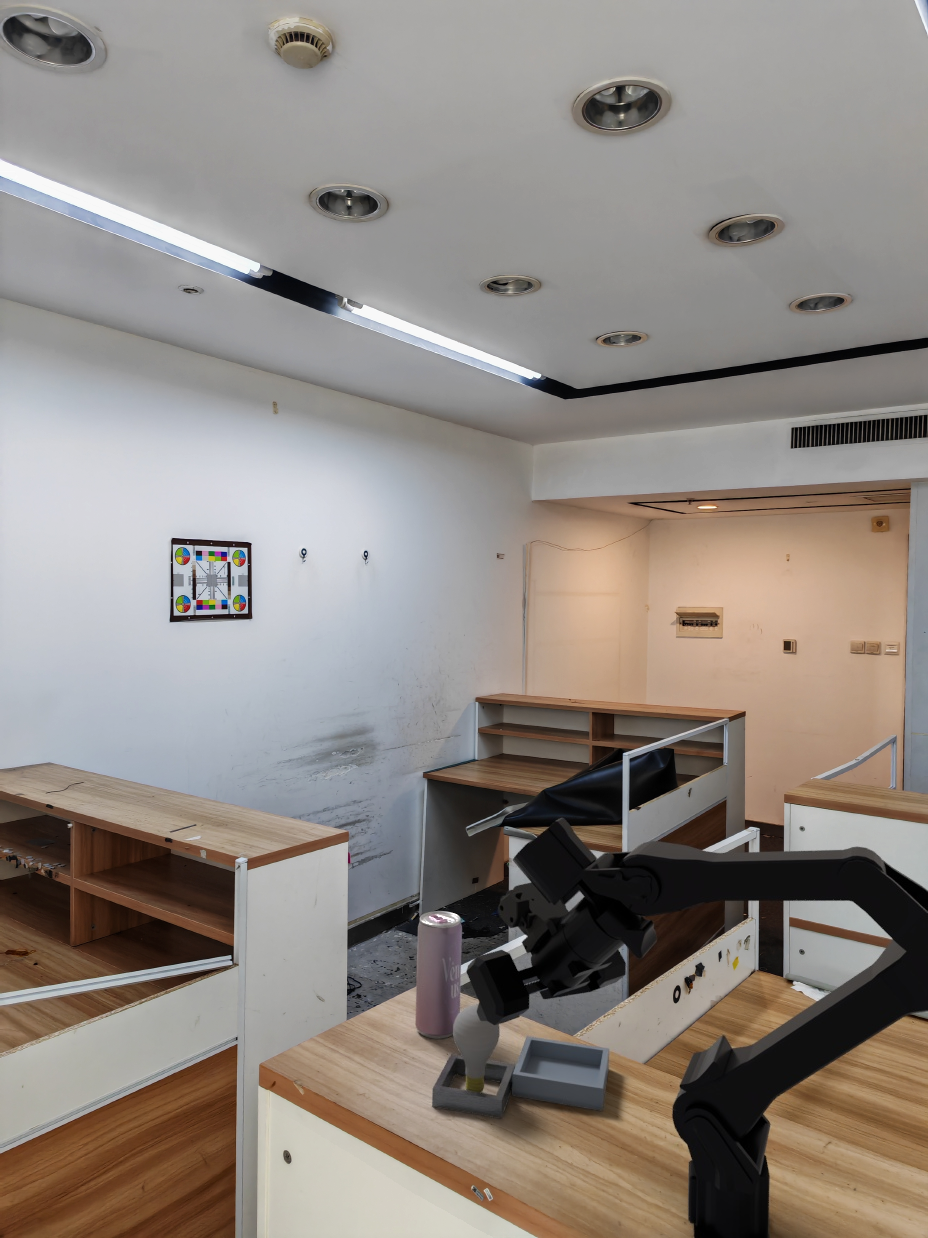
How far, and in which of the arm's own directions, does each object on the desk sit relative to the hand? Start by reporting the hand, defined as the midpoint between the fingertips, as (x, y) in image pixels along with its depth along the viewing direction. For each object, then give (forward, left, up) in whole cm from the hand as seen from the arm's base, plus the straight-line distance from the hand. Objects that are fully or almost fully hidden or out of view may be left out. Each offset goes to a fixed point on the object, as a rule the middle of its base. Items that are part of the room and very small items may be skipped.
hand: (511, 1005), depth 90 cm
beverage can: (+13, -17, -13) cm, 25 cm away
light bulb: (+5, -4, -13) cm, 14 cm away
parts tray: (-5, -9, -12) cm, 16 cm away
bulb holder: (+5, -4, -12) cm, 14 cm away
